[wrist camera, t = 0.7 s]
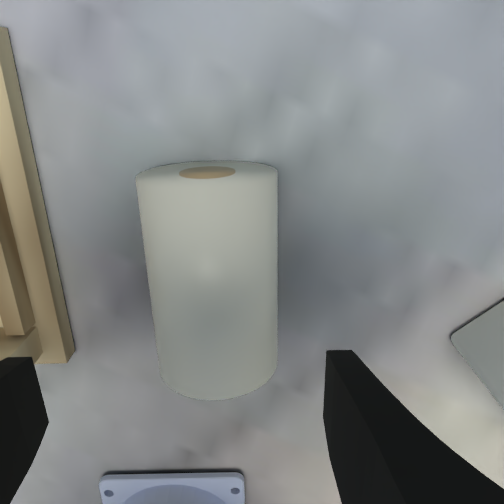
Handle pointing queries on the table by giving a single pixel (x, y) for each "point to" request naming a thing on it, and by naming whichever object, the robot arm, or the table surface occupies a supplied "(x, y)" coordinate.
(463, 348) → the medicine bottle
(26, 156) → the beige wooden frame
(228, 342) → the roll
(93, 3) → the table surface
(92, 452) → the table surface
